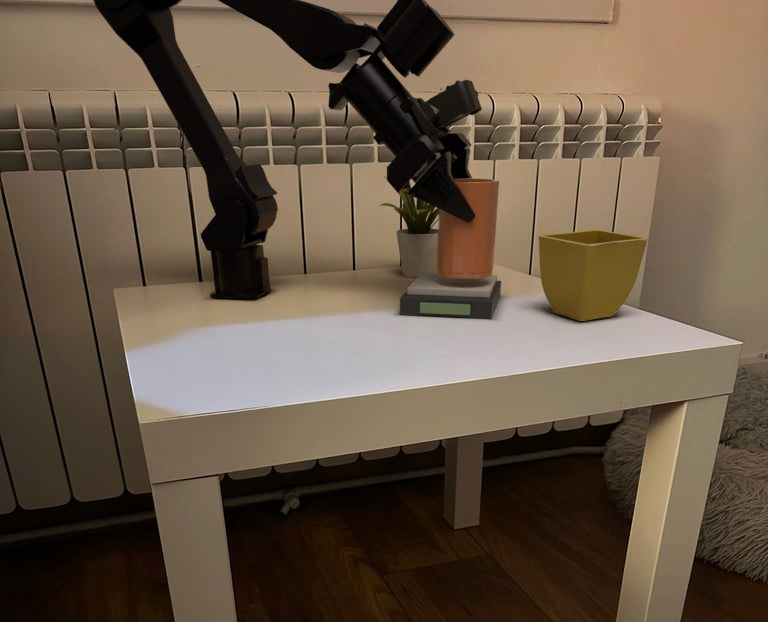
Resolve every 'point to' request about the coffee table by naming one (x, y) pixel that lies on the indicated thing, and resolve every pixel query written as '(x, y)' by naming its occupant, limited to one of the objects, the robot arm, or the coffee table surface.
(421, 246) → the house plant
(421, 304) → the scale
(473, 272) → the cup
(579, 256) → the flower pot
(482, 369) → the coffee table surface
